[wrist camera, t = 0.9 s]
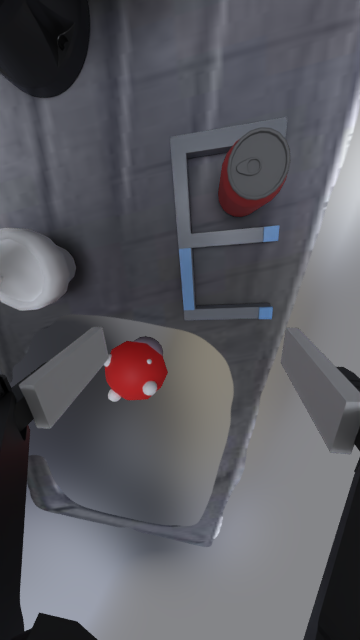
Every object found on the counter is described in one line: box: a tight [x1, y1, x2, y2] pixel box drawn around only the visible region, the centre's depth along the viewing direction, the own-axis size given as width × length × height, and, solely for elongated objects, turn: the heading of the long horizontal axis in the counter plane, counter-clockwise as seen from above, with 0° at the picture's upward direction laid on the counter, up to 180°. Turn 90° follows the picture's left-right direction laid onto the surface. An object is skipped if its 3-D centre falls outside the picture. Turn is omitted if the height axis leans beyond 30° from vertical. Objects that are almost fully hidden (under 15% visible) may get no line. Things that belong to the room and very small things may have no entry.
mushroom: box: [104, 336, 168, 402], centre depth 37 cm, size 11×11×12 cm
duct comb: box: [170, 117, 287, 320], centre depth 31 cm, size 26×14×2 cm, turn 5°
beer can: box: [218, 127, 290, 217], centre depth 24 cm, size 7×7×12 cm
